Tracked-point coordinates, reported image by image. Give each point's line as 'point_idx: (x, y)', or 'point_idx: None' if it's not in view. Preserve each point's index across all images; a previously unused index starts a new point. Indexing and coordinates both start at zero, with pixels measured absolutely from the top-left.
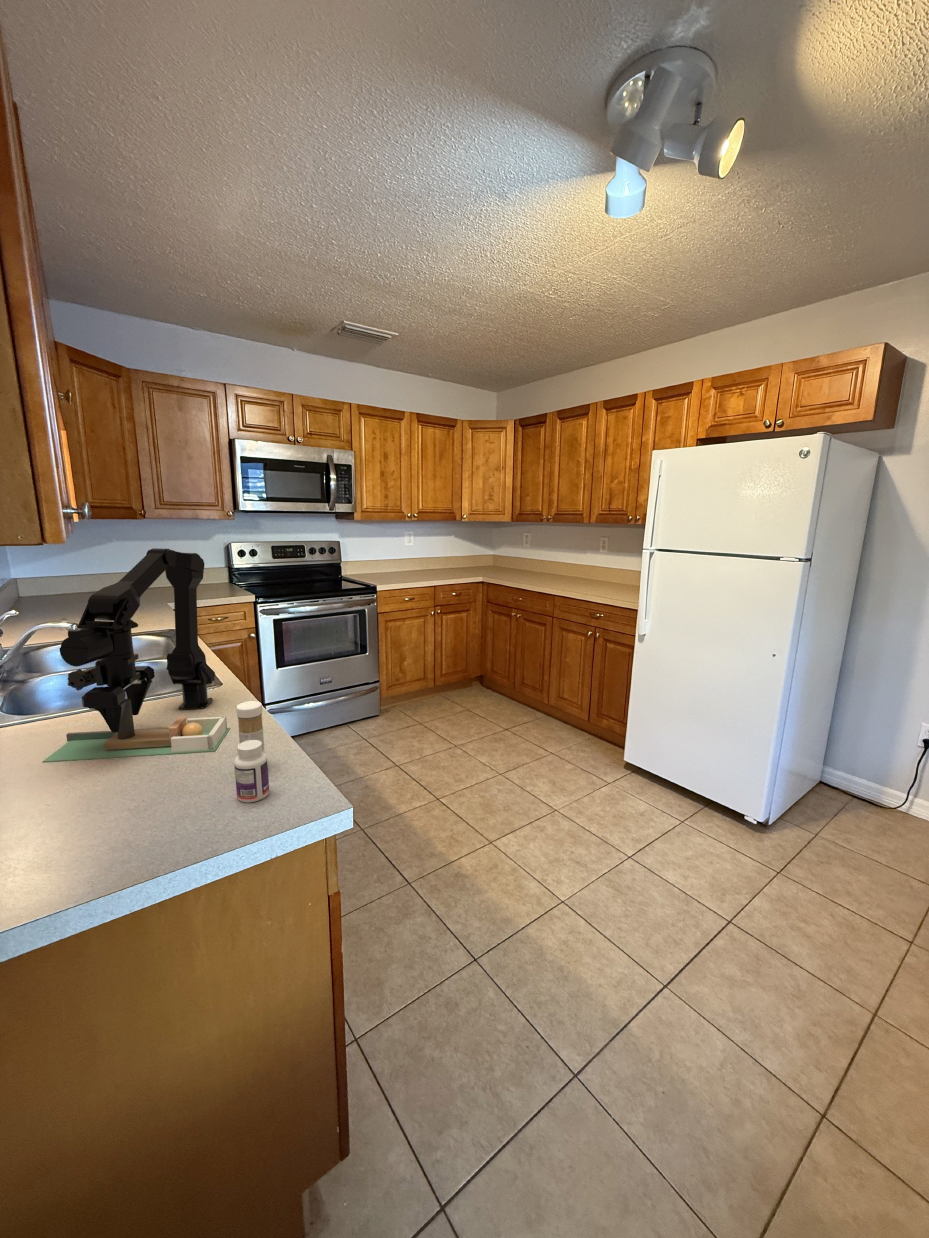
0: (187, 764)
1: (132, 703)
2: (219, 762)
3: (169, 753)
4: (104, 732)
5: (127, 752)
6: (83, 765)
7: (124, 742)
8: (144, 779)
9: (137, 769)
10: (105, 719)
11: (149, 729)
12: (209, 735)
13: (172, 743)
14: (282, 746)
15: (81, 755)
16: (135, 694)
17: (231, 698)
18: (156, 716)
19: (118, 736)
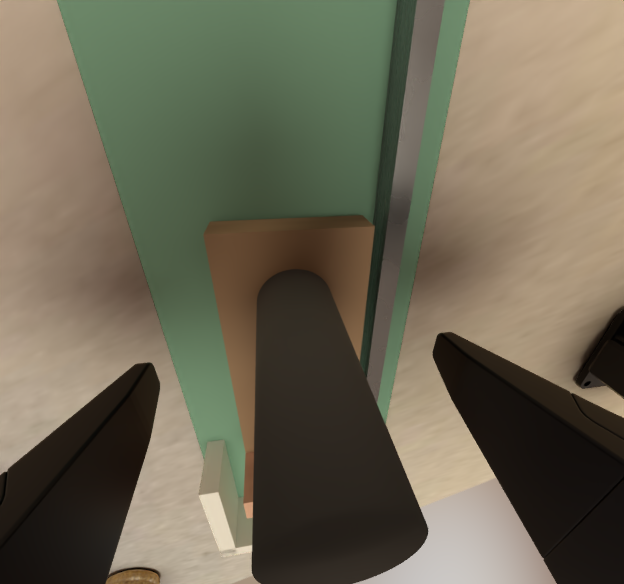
0: (134, 492)
1: (498, 403)
2: (156, 532)
3: (198, 439)
4: (398, 135)
5: (200, 322)
6: (42, 186)
7: (221, 325)
8: (5, 452)
9: (68, 408)
10: (9, 477)
11: (375, 346)
12: (230, 551)
13: (203, 476)
14: (246, 573)
15: (146, 107)
16: (565, 501)
17: (619, 411)
18: (595, 253)
19: (266, 288)
